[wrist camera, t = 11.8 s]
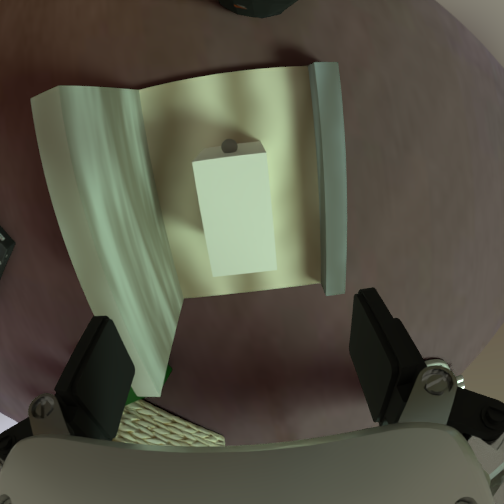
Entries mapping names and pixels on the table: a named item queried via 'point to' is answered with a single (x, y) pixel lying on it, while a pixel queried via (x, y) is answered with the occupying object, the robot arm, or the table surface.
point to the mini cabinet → (236, 207)
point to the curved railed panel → (190, 192)
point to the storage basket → (161, 428)
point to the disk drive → (5, 249)
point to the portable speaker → (257, 7)
